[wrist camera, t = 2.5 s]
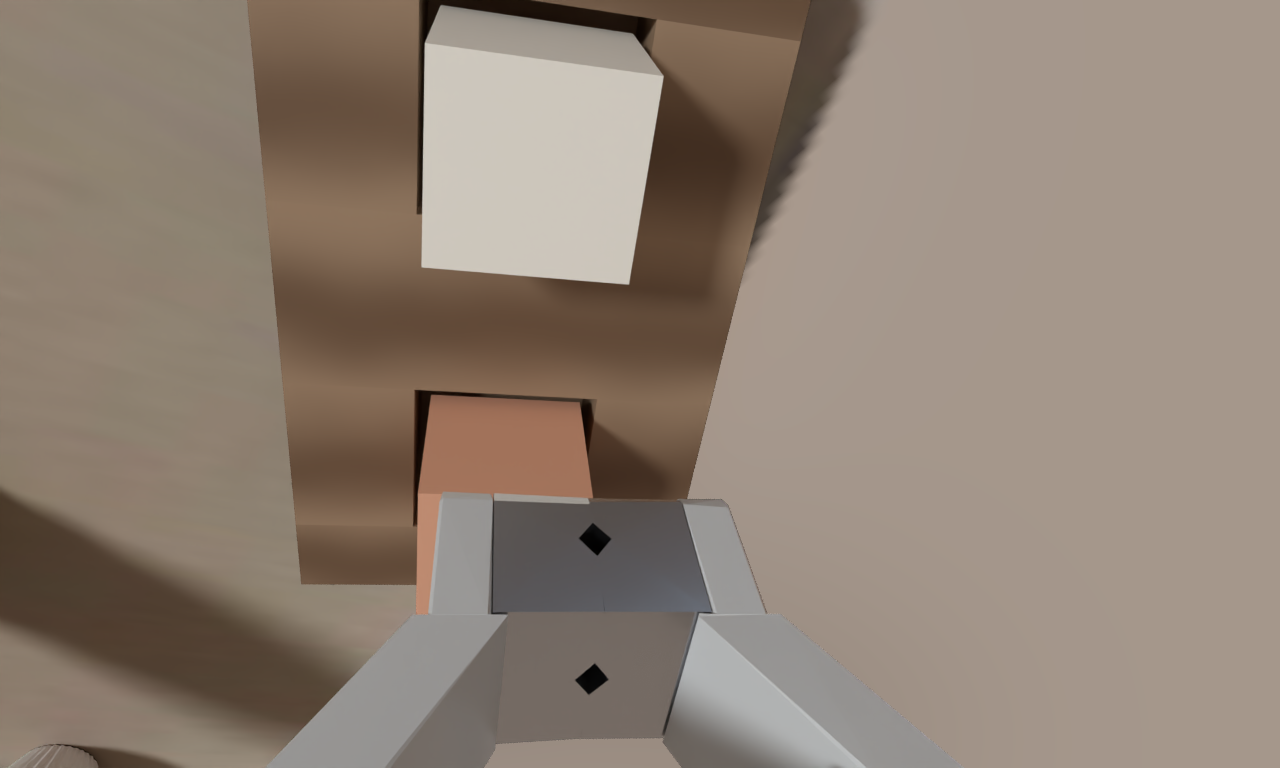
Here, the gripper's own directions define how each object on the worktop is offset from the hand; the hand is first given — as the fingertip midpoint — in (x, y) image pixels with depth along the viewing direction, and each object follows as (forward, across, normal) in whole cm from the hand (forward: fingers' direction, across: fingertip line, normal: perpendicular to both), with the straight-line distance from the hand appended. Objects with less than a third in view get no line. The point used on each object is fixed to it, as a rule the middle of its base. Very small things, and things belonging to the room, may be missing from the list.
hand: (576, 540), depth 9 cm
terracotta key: (+17, 0, +12) cm, 20 cm away
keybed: (+20, 0, +6) cm, 21 cm away
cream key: (+17, 0, 0) cm, 17 cm away
